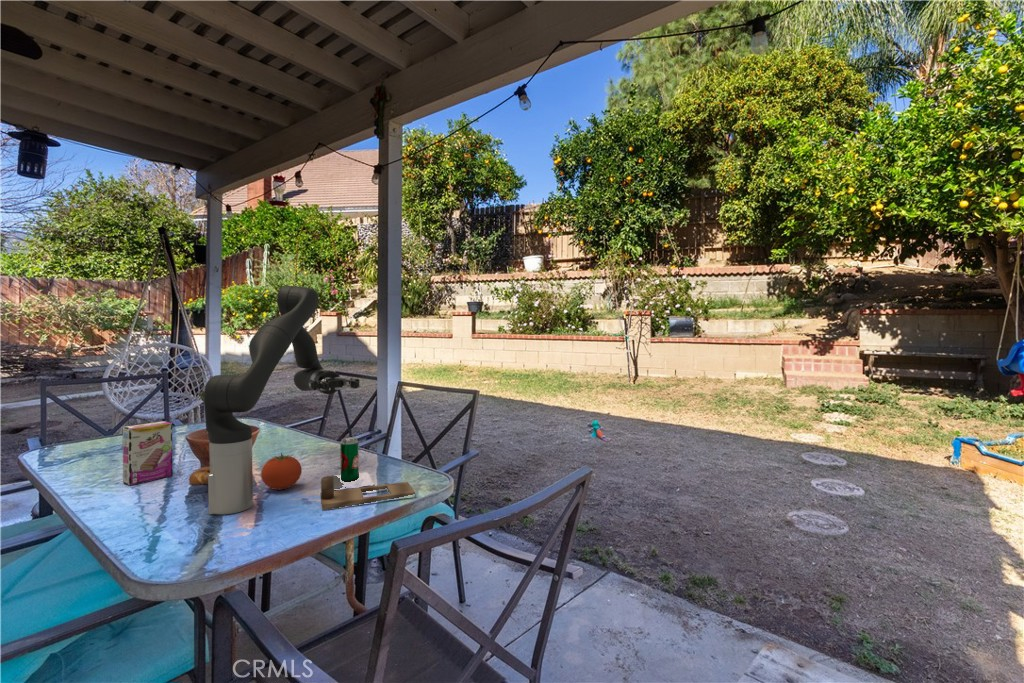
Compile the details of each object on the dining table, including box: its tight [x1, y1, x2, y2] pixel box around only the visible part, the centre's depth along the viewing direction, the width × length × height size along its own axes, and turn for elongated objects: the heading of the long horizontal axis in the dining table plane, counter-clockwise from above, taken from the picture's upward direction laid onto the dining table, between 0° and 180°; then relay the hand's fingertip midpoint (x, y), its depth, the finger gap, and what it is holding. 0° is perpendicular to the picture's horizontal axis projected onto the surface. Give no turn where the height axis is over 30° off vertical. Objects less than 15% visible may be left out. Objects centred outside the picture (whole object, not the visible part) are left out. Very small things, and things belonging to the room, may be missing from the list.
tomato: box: [260, 452, 303, 491], centre depth 137 cm, size 10×10×10 cm
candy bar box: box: [121, 420, 173, 486], centre depth 144 cm, size 11×5×16 cm, turn 149°
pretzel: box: [188, 466, 210, 486], centre depth 145 cm, size 12×11×4 cm
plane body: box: [319, 476, 416, 511], centre depth 130 cm, size 23×9×6 cm, turn 114°
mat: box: [326, 474, 346, 489], centre depth 143 cm, size 12×13×1 cm
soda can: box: [339, 437, 360, 482], centre depth 143 cm, size 5×5×12 cm
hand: (342, 385), depth 147 cm, fingers open, 8 cm apart
